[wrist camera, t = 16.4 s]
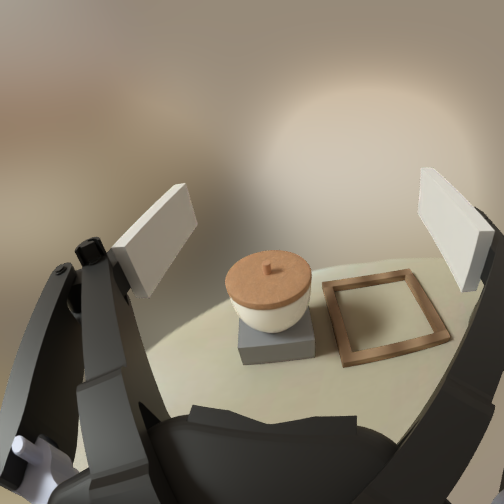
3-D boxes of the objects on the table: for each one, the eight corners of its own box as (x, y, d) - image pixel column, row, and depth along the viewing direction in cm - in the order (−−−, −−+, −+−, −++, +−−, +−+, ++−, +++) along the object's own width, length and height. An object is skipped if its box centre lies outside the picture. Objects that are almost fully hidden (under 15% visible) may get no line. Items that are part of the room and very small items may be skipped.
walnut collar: (408, 273, 47) (409, 268, 47) (448, 341, 33) (450, 336, 32) (322, 287, 49) (322, 282, 48) (342, 367, 34) (343, 362, 34)
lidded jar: (325, 304, 40) (325, 249, 35) (287, 358, 33) (280, 304, 28) (264, 284, 46) (255, 233, 41) (221, 328, 39) (204, 276, 34)
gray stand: (305, 308, 45) (305, 289, 43) (314, 357, 37) (315, 339, 35) (245, 315, 46) (240, 297, 44) (243, 364, 38) (237, 348, 36)
